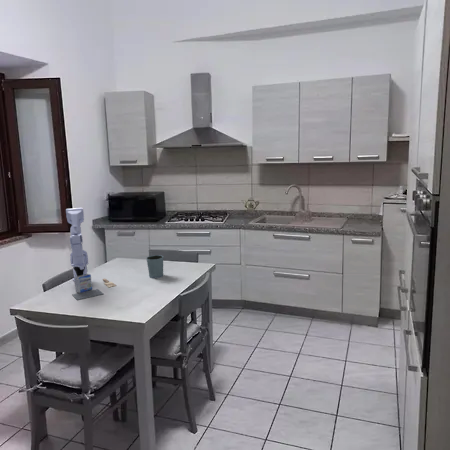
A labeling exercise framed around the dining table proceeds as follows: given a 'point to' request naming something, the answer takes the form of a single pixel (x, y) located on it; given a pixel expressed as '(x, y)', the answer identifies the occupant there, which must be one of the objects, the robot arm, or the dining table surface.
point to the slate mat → (87, 294)
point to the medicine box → (83, 283)
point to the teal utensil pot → (155, 266)
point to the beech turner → (108, 283)
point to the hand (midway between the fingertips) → (80, 279)
